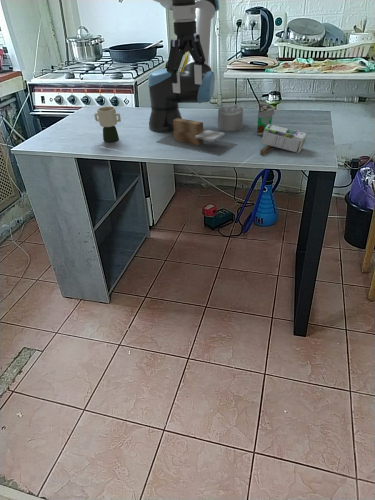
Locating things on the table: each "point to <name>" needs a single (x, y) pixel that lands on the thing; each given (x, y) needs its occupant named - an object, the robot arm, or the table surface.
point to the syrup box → (283, 138)
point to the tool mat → (206, 146)
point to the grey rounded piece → (230, 117)
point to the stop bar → (266, 150)
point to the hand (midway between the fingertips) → (187, 88)
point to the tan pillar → (193, 132)
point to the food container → (264, 117)
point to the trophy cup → (108, 122)
